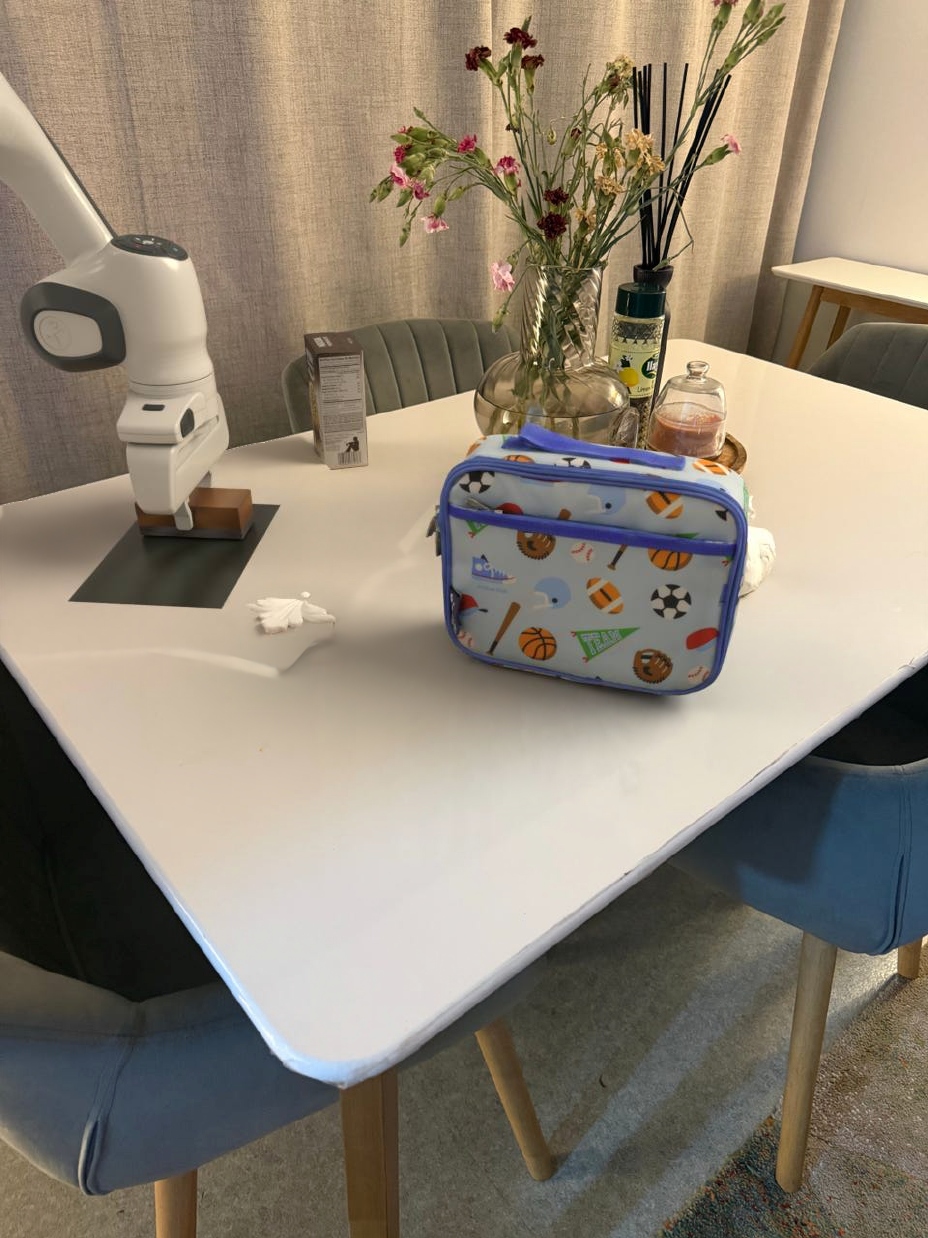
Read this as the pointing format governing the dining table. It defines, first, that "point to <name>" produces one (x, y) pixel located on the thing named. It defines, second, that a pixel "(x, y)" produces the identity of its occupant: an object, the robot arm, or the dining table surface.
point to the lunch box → (592, 560)
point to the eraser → (206, 515)
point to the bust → (757, 554)
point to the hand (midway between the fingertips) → (196, 515)
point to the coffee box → (337, 398)
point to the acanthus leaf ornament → (288, 613)
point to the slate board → (173, 568)
